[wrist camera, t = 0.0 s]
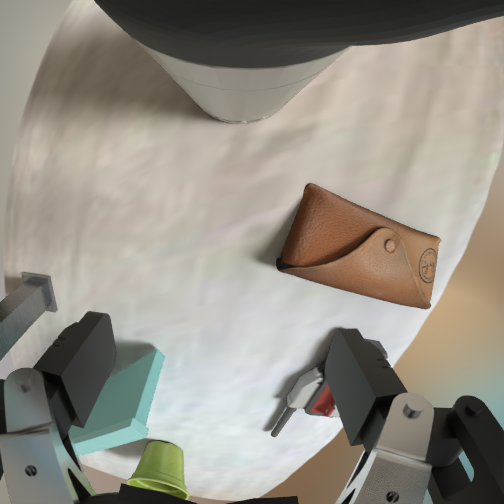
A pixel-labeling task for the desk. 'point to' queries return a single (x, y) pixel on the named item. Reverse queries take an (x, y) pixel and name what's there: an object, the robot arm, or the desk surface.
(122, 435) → the gate
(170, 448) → the plant pot
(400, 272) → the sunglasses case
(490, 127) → the desk surface
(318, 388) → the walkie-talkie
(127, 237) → the desk surface
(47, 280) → the latch post
